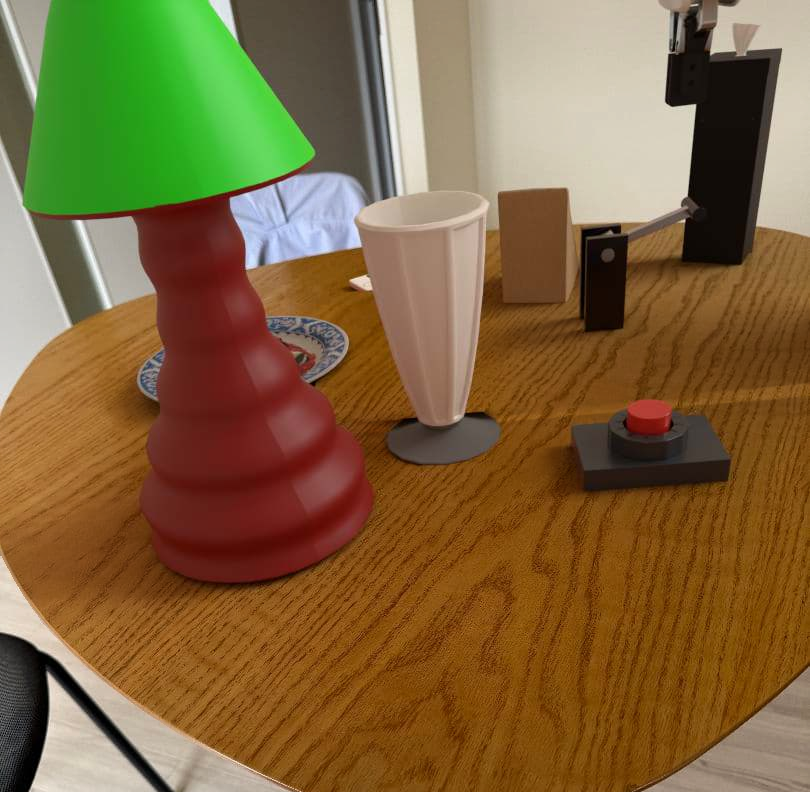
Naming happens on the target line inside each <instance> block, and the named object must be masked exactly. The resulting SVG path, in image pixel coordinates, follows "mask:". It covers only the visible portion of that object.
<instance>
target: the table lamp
mask: <svg viewBox="0 0 810 792" xmlns="http://www.w3.org/2000/svg"><path fill="white" fill-rule="evenodd" d="M49 2H50V3H49V6H48V12H47V17H46V21H45V27H44V28H45V29H44V36H43V44H42V52H41V58H40V65H39V66H40V67H39V73H38V82H37V88H36V89H37V90H36V97H35V105H34V112H33V119H32V126H31V134H30V143H29V150H28V156H27V157H28V158H27V165H26V171H25V172H26V173H25V181H24V188H23V196H22V207H24V208H25V210H26V211H27V212H28V213H29V214H30V215H32V216H35V217H38V218H41V219H46V220H56V221H88V220H89V221H93V220H110V219H119V218H127V217H131V218H132V219H133V222H134V224H135V226H136V231H137V247H138V249H137V250H138V256H139V260H140V264H141V266H142V268H143V271H144V273H145V274H146V276H147V277H148V279H149V281H150V283H151V284H152V286H153V288H154V290H155V293H156V300H157V301H156V312H155V314H156V317H155V319H156V320H155V321H156V326H157V332H158V335H159V338H160V339H161V343H162V345H163V348H164V351H165V356H164V360H163V363H162V365H161V368H160V371H159V373H158V377H157V381H156V393H157V398H158V401H159V402H158V405H159V407H160V408H159V409H160V410H159V414H158V415H157V417H156V419H155V420H154V422H153V424H152V425H151V426H150V428H149V431H148V434H147V439H146V441H145V448H146V457H147V460H148V462H149V464H150V466H151V467H150V469H149V471H148V473H147V475H146V476H145V478H144V479H143V482H142V486H141V491H140V494H139V505H140V506H139V507H140V511H141V513H142V516H143V517H144V519H145V521H146V522H147V524H148V526H149V527H150V528H151V530H150V540H151V542H150V543H151V548H152V550H153V551H154V553H155V555H156V556H157V558H158V560H159V561H160V562H161V563H163V564H164V565H165V566H166V567H167V568H168V569H169V570H171V571H174V572H176V573H178V574H180V575H182V576H183V577H186V578H188V579H192V580H196V581H197V580H198V581H202V582H206V583H220V584H221V583H222V584H239V583H255V582H263V581H267V580H274V579H278V578H282V577H284V576H287V575H290V574H294V573H296V572H299V571H302V570H303V569H306V568H308V567H310V566H313V565H315V564H317V563H319V562H321V561H322V560H324V559H326V558H328V557H330V556H331V555H333V554H334V553H336V552H338V551H339V550H341V549H342V548H343V547H344V546H346V545H347V544H349V543H350V542H351V541H352V540H354V539H355V537H356V536H357V535H358V533H359V532H360V531H361V529H362V528H363V527H364V525H366V523H367V521H368V519H369V518H370V514H371V513H372V511H373V506H374V502H375V501H374V500H375V494H374V489H373V485H372V484H371V482H370V480H369V478H368V477H367V475H366V474H365V470H366V458H365V453H364V449H363V447H362V445H361V444H360V442H359V440H358V439H357V438H356V436H355V435H353V434H352V432H350V431H349V430H348V429H346V428H345V427H344V426H342V425H340V424H339V423H337V422H336V417H335V411H334V407H333V404H332V403H331V402H330V400H329V399H328V397H327V396H326V395H325V394H324V393H323V392H322V391H320V389H318V388H317V387H315V386H313V385H312V384H311V383H307V382H306V381H304V380H302V379H301V378H300V374H299V370H298V366H297V363H296V360H295V358H294V356H293V354H292V353H291V352H290V350H289V349H288V348H287V347H286V346H285V345H284V344H283V343H282V342H280V341H279V340H278V339H277V338H276V337H275V336H274V335H273V334H272V333H271V332H270V331H269V328H268V326H267V322H266V317H267V315H266V311H265V307H264V303H263V301H262V299H261V298H260V295H259V294H258V292H257V291H256V289H255V287H254V286H253V284H252V283H251V282H250V279H249V277H248V274H247V268H246V258H247V257H246V256H247V252H246V251H247V248H246V240H245V237H244V235H243V234H244V233H243V232H242V230H241V228H240V226H239V223H238V222H237V220H236V218H235V217H234V214H233V211H232V208H231V198H234V197H238V196H241V195H242V196H243V195H244V194H248V193H251V192H256V191H259V190H262V189H265V188H268V187H271V186H273V185H277V184H279V183H281V182H284V181H286V180H288V179H290V178H292V177H295V176H297V175H299V174H300V173H302V172H303V171H305V170H306V169H308V168H309V167H310V166H311V165H312V164H313V162H314V161H315V157H316V150H315V148H314V147H313V146H312V144H311V143H310V142H309V140H308V139H307V137H306V136H305V134H304V133H303V131H302V130H301V129H300V127H299V126H298V125H297V124H296V122H295V121H294V119H293V117H292V116H291V115H290V113H289V112H288V110H287V109H286V107H284V105H283V103H282V102H281V101H280V100H279V97H277V96H276V94H275V92H274V91H273V90H272V88H271V87H270V85H269V84H268V82H266V80H265V78H264V77H263V76H262V74H261V73H260V72H259V70H258V69H257V67H256V66H255V64H254V63H253V62H252V60H251V59H250V57H249V56H248V54H247V53H246V52H245V50H244V49H243V48H242V46H241V45H240V44H239V42H238V41H237V39H236V38H235V36H234V35H233V34H232V32H231V31H230V29H229V28H228V27H227V25H226V23H225V22H224V21H223V20H222V18H221V16H220V15H219V14H218V13H217V11H216V10H215V8H214V7H213V6H212V4H211V3H210V1H209V0H50V1H49Z"/></svg>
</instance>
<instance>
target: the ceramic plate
mask: <svg viewBox="0 0 810 792" xmlns="http://www.w3.org/2000/svg"><path fill="white" fill-rule="evenodd" d="M266 322H267V326H268V328H269V331H270V332H271V333H272V334H273V335H274V336H275V337H276V338H277V339H278V340H279V341H280V342H282V343H283V344H284V345H285V346H286V347H287V348H288V349H289V350H290V352H291V353H292V354H293V356H294V358H295V360H296V363H297V366H298V370H299V374H300V378H301V379H302V380H304V381H306V382H307V383H309V384H311V383H312V382H314V381H316V380H318V379H319V378H322V377H323V376H325V375H327V374H328V373H330V371H331V370H333V369H334V368H335V367H337V366H338V365H339V364H340V363H341V361H342V360H344V358H345V357H346V355H347V352H348V350H349V346H350V340H349V337H348V334H347V333H346V332H345V331H344V330H343V329H342V328H341V327H339V326H338V325H336V324H334V323H331V322H329V321H327V320H324V319H319V318H314V317H309V316H298V315H297V316H296V315H276V316H275V315H273V316H266ZM164 356H165V351H164V347H162V348H161V349H160V350H158V351H156V352H155V353H154V354H153V355H151V356H149V358H148V359H147V360H145V362H143V364H142V366H141V367H140V368H139V371H138V373H137V376H136V383H137V387H138V388H139V390H140V392H141V393H142V394H143V395H144V396H146V397H147V398H149V399H150V400H153V401H155V402H158V403H159V401H158V398H157V393H156V381H157V377H158V373H159V371H160V368H161V365H162V363H163V360H164Z"/></svg>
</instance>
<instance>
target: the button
mask: <svg viewBox="0 0 810 792" xmlns="http://www.w3.org/2000/svg"><path fill="white" fill-rule="evenodd" d="M626 408H627V423H626V427H627V430H629V431H631V432H633V433H635V434H641V435H647V436H648V435H660V434H662V433H665V432H667V431H668V430H669V429H670V421H671V409H672V406H671V405H670V404H669V403H668V402H665V401H663V400H659V399H654V398H653V399H651V398H646V399H639V400H636V401H633V402H631V403H630V404H629V405H628V406H627V407H626Z"/></svg>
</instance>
